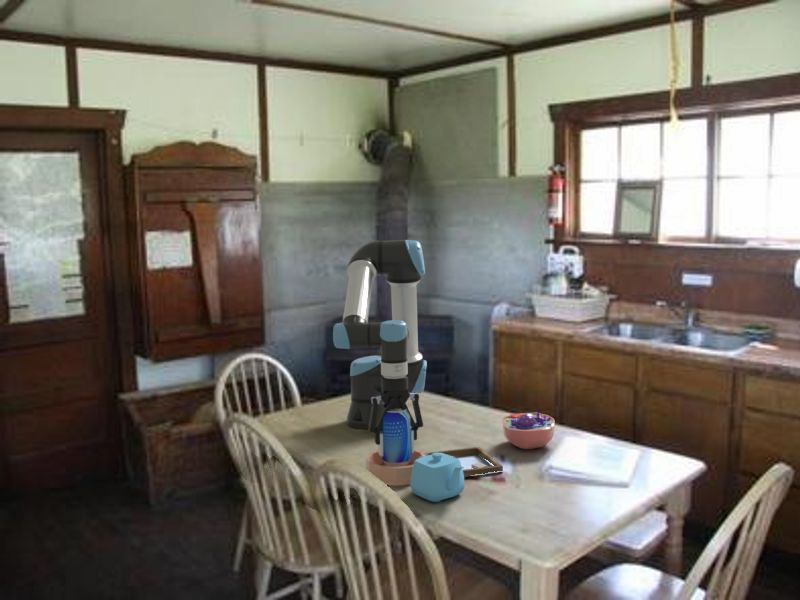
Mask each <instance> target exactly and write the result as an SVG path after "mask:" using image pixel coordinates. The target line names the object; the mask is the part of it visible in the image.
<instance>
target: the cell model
mask: <svg viewBox="0 0 800 600" xmlns="http://www.w3.org/2000/svg"><path fill="white" fill-rule="evenodd" d="M501 422H502V435H503V436H504V437H505V439H506V440H507V441H508V442H509V443H510V444H512V445H514V446H515V447H518V448H520V449H521V450H522V449H523V450H532V449H534V450H535V449H537V448H543V447H544V446H546V445H548V444H549V443H550V442H551V441H552V440H553V436H554V433H555V428H556V421H555V419H554V418H553V417H552V416H550V415H549V414H544V413H540V412H539V411H535V412H523V413H522V412H521V413H512V414H508V415H505V416H503V417H502V418H501Z"/></svg>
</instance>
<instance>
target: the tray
mask: <svg viewBox="0 0 800 600" xmlns="http://www.w3.org/2000/svg"><path fill="white" fill-rule="evenodd" d="M423 453H424V454H425V455H426V456H428V455H432V454H433V453H444V454H447V455H450V456H459V457H466V456H475V455H478V456H479V457H480V458H481V457H482V458H484V459H486V460H488V461H489V462H490V463H492V464H493V465H494V466H491V465H489V466H487V467H482V468H474V469H472V468H467V469H462V470H463V474H464V479H465V478H466V477H468V476H470V475H475V474H482V473H483V474H485V473H488V472H494V471H495V472H497V471H503V472H504V466H503V465H502V464H501V463H499V462H498V461H497V460H496V459H494V458H493V456H491V455H490V454H489V453H487V452H486V450H484V449H483V448H481V446H473V447H467V448H466V447H464V448H458V449H457V448H455V449H447V450H439V451H431V452H423ZM482 458H481V459H482ZM484 459H483V460H484ZM468 478H469V477H468ZM466 479H467V478H466Z"/></svg>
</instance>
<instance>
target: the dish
mask: <svg viewBox="0 0 800 600" xmlns="http://www.w3.org/2000/svg"><path fill="white" fill-rule="evenodd" d="M424 453H425V452H424V451H421V450H418V449H415V448H414V453H411V459H410V461H409V463H408V464H407V465H404V466H400V467H392V466H388V465H386V464H385V463H384V461H383V460H382V456H380V455H379V452H378V449H377V450H376V451H372V452H370V453H369V454H368V455H367V456H366V458H365V470H366V469H367V470H368V471H369V472H371V473H372V474H373V475H375V476H376V477H377V478H379V479H380V480H381V481H383V482H384V483H385V484H387V485H389V486H388V487H404V486H411V473H412V469H413V465H414V461H415V460H417V459H418V458H419V457H420V456H423V455H425V454H424ZM425 456H426V455H425Z"/></svg>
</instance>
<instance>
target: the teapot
mask: <svg viewBox="0 0 800 600" xmlns="http://www.w3.org/2000/svg"><path fill="white" fill-rule="evenodd" d="M464 468H465V467H464V466H462V463H461V459H459V458H457V457H452V456H450V455H447V454H444V453H433V454H432V455H428V456H425V455H423V456H420V457H419V458H418V459H417V460H415V461H414V465H413V469H412V473H411V485H410V489H411V491H412V494H415V495H417V496H419V497H420V498H423V499H424V500H427V501H429V502H433V503H440V502H441V501H442V500H447V499H450V498H455V497H456V496H458V495H460V494H461V493H463V491H464V489H465V485H466V484H465V478H464V474H463V470H464Z"/></svg>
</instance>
